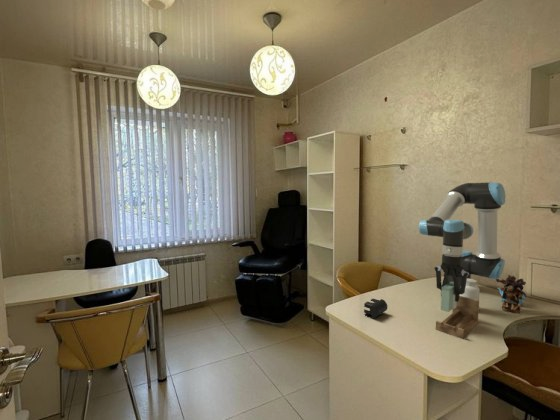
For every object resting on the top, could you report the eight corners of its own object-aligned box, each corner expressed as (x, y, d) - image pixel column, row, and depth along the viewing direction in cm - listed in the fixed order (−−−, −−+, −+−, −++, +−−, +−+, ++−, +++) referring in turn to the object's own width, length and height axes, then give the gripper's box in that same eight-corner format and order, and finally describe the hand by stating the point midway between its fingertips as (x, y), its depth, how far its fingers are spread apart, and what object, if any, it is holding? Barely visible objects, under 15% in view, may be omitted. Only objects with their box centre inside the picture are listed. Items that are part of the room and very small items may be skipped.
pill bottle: (481, 313, 134) (483, 283, 133) (463, 311, 136) (464, 281, 135) (473, 306, 142) (475, 278, 141) (456, 305, 144) (457, 276, 143)
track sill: (435, 329, 118) (436, 306, 118) (453, 314, 133) (454, 294, 132) (462, 338, 111) (463, 314, 110) (477, 322, 125) (479, 300, 125)
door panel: (440, 309, 121) (441, 287, 121) (450, 302, 129) (451, 281, 128) (448, 312, 119) (449, 289, 118) (458, 304, 127) (459, 283, 126)
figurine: (499, 312, 135) (504, 276, 134) (492, 305, 144) (496, 271, 143) (526, 316, 132) (531, 279, 131) (517, 309, 141) (521, 274, 139)
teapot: (493, 300, 150) (494, 287, 150) (498, 298, 154) (498, 285, 153) (522, 308, 141) (523, 294, 140) (526, 305, 144) (527, 291, 144)
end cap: (377, 321, 126) (378, 306, 125) (363, 316, 131) (363, 302, 130) (387, 314, 133) (387, 300, 132) (373, 309, 138) (374, 296, 137)
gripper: (429, 253, 126) (427, 303, 128) (470, 259, 114) (467, 315, 115) (435, 250, 131) (433, 299, 132) (476, 257, 119) (473, 310, 120)
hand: (449, 306), depth 124 cm, fingers closed on door panel, 3 cm apart
